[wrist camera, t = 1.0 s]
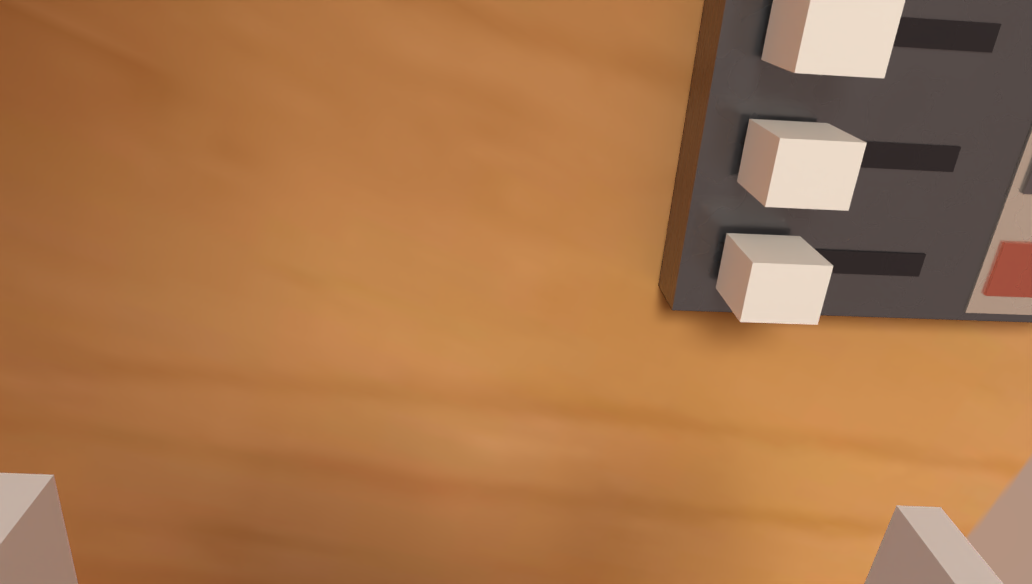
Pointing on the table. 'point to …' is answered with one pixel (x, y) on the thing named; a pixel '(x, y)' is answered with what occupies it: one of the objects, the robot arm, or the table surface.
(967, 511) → the table surface
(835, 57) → the switch
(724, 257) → the switch
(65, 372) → the table surface
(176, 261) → the table surface
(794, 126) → the switch
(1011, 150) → the switch panel
